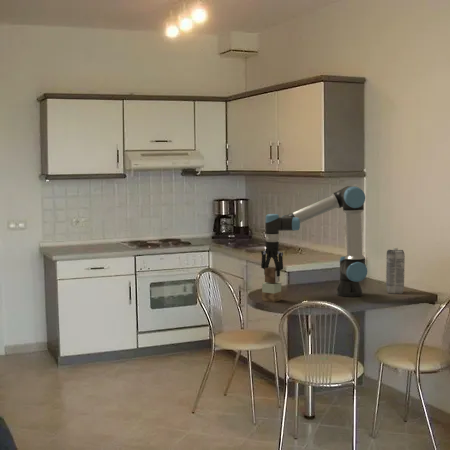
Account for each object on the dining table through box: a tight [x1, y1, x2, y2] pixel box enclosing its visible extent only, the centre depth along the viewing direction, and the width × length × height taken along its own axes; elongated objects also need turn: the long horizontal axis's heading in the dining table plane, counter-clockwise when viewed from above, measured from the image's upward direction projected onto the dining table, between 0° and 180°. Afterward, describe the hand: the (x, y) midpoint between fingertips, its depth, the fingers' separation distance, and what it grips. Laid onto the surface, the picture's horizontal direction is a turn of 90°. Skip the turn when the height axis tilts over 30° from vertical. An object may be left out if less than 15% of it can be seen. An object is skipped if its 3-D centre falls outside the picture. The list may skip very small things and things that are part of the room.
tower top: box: [261, 282, 282, 293], centre depth 408 cm, size 8×8×5 cm
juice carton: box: [385, 247, 406, 295], centre depth 429 cm, size 9×10×27 cm
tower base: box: [261, 291, 282, 303], centre depth 408 cm, size 8×8×5 cm
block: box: [264, 266, 276, 283], centre depth 407 cm, size 6×6×8 cm
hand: (272, 281), depth 407 cm, fingers closed on block, 6 cm apart
